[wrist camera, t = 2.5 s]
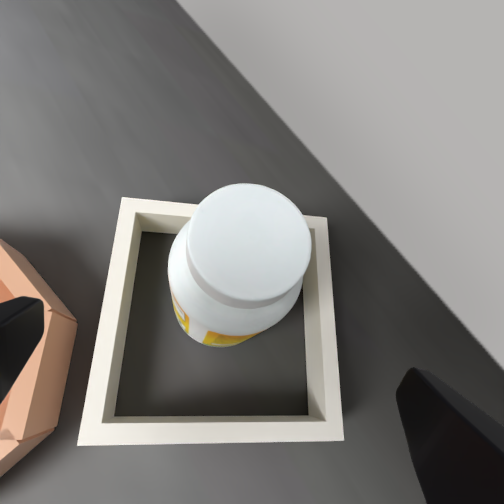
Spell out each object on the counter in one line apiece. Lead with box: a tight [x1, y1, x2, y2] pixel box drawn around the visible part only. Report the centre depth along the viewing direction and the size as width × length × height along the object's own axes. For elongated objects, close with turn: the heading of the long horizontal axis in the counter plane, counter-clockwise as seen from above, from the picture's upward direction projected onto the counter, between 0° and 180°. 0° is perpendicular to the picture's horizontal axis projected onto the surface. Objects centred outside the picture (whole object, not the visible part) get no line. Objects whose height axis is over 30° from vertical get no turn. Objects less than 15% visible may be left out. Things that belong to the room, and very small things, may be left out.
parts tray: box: [77, 197, 344, 446], centre depth 17 cm, size 12×12×2 cm
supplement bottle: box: [168, 183, 312, 347], centre depth 14 cm, size 5×5×10 cm
